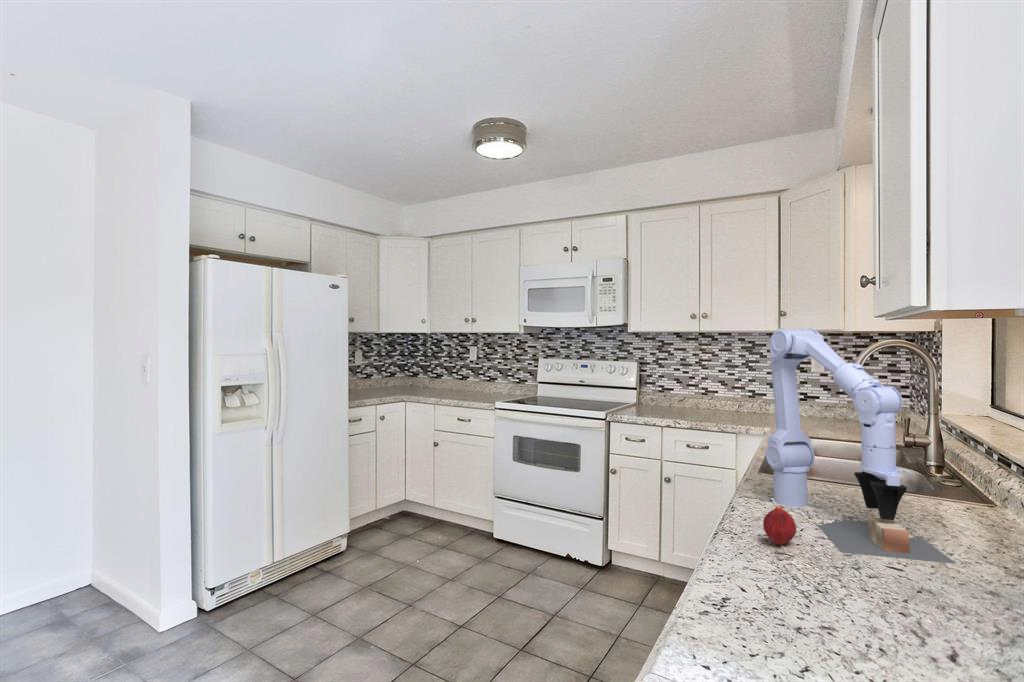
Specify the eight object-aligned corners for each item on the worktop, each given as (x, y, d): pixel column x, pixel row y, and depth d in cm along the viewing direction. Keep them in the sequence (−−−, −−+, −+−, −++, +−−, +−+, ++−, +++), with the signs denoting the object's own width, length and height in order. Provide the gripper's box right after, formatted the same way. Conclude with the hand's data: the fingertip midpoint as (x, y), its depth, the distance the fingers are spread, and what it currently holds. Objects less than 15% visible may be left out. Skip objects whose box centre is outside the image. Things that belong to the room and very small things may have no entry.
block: (868, 517, 105) (883, 529, 97) (891, 518, 104) (909, 531, 96) (868, 536, 105) (884, 551, 97) (891, 538, 104) (909, 553, 96)
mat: (810, 519, 118) (810, 517, 118) (903, 526, 112) (903, 524, 112) (841, 554, 97) (841, 552, 97) (957, 566, 91) (957, 563, 91)
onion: (799, 552, 98) (798, 510, 98) (765, 549, 100) (765, 507, 100) (793, 542, 103) (792, 502, 103) (761, 538, 105) (761, 499, 105)
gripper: (918, 453, 97) (919, 526, 96) (886, 441, 110) (888, 505, 110) (874, 451, 99) (875, 523, 98) (849, 439, 112) (850, 502, 112)
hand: (879, 513), depth 104 cm, fingers open, 7 cm apart
